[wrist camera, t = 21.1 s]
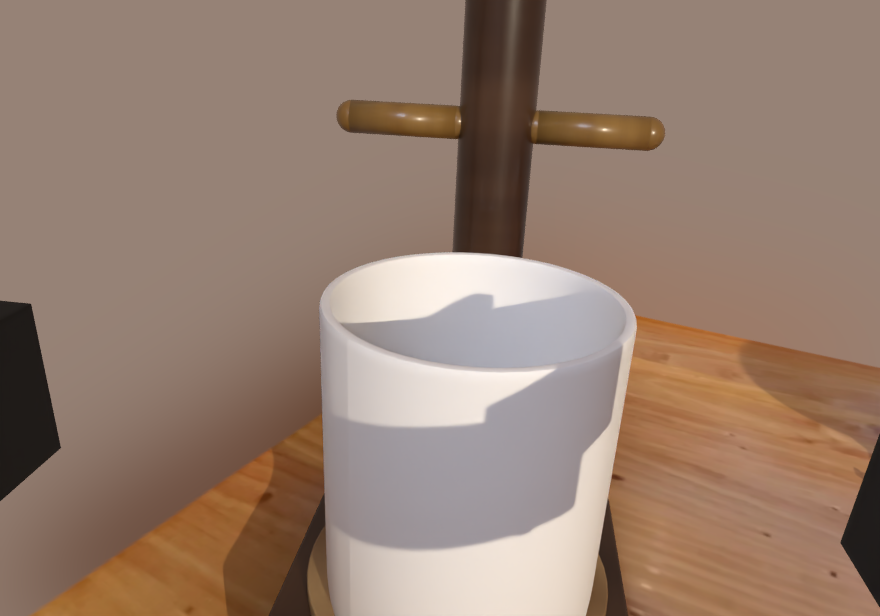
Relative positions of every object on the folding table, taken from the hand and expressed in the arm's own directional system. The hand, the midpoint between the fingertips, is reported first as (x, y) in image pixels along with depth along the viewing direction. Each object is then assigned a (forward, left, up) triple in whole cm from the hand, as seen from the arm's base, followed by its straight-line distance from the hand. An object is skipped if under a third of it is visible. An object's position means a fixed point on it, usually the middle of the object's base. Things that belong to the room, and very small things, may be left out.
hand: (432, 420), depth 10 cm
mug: (+8, +6, -12) cm, 16 cm away
